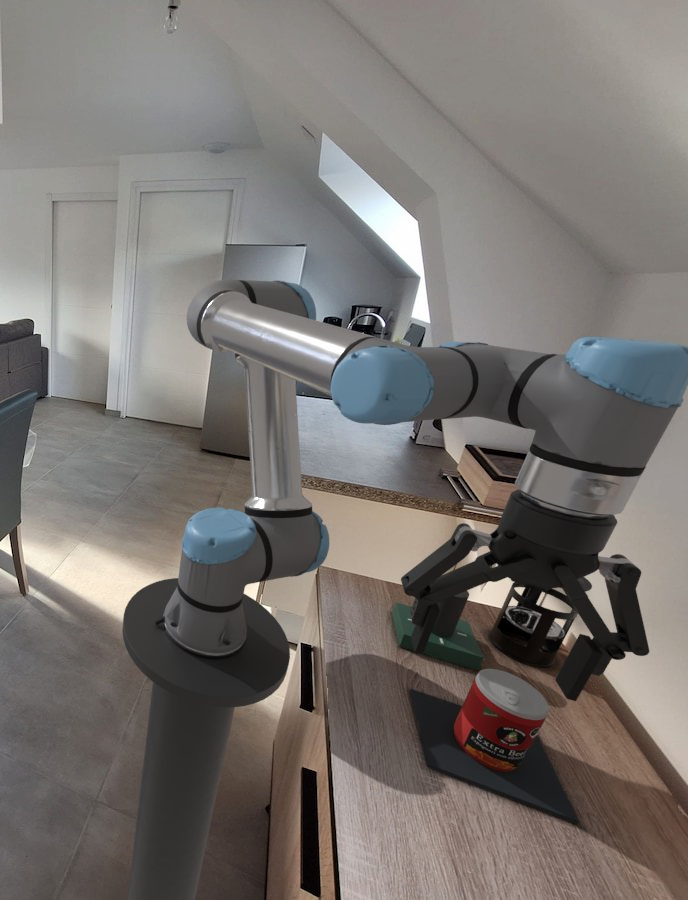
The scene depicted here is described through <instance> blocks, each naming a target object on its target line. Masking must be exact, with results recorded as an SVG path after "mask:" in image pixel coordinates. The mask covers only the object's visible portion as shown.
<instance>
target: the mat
mask: <svg viewBox="0 0 688 900" xmlns="http://www.w3.org/2000/svg"><path fill="white" fill-rule="evenodd" d="M409 693H410V697H411V701H412V702H411V703H412V705H413V710H414V714H415V719H416V724H417V727H418V731H419V736H420V741H421V744H422V748H423V753H424V757H425V763H426V766H427V768H430V769H432V770H434V771H437V772H439V773H443V774H445V775H448V776H450V777H453V778H456V779H458V780H461V781H462V782H463V781H464V782H466V783H468V784H471V785H473V786H477V787H479V788H482V789H484V790H486V791H489V792H492V793H495V794H498V795H500V796H503V797H504V798H508V799H511V800H513V801H516V802H518V803H521V804H524V805H525V806H526V805H527V806H529V807H531V808H534V809H536V810H539V811H542V812H545V813H547V814H550V815H552V816H555V817H557V818H561V819H563V820H565V821H568V822H571V823H573V824H576V825H579V823H580V819H579V817H578V815H577V814H576V811H575V810H574V807H573V805H572V804H571V801H570V798H569V797H568V795H567V793H566V791H565V789H564V787H563V785H562V783H561V781H560V779H559V777H558V775H557V772H556V771H555V769H554V767H553V764H552V763H551V761H550V758H549V757H548V755H547V753H546V750H545V749H544V747H543V744H542V742H541V740H540V738H539V736H538V734H537V735H536V737H535V739H534V740H533V742H532V744H531V746H530V748H529V749H528V751H527V753H526V755H525V756H524V758H523V760H522V762H521V763H520V765H519V766H518V767H517V768H515V769H514V770H512V771H508V772H505V771H498V770H494V769H491V768H489V767H487V766H485V765H483V764H481V763H479V762H478V761H476V760H475V759H473V758H472V757H471V756H470V755H469V754H467V753H466V752H465V751H464V750H463V749H462V747H461V746H460V745H459V743H458V742H457V740H456V738H455V735H454V724H455V721H456V719H457V717H458V715H459V712H460V710H461V708H462V706H463V705H461V704H458V703H455V702H453V701H449V700H446V699H443V698H440V697H437V696H434V695H431V694H428V693H425V692H422V691H418V690H415V689H412V688H411V689H410V690H409Z"/></svg>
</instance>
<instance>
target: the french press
mask: <svg viewBox="0 0 688 900" xmlns="http://www.w3.org/2000/svg"><path fill="white" fill-rule="evenodd" d="M578 582H579V583H580V585H581V586H582V588H583V589H584V591H585V592H586V593H587V592H590V591H591V590H592V588H593V584H592V583H591V582H590V580H588V579H587V578H586V576H585V577H582V578H580V579H578ZM515 588H523V591H522V593H521V594H520V593H519V592H518V591H517V590H516V589H515ZM559 588H560V589H562V588H561V587H559ZM542 593H543V596H542V598H541V600H540V597H541V595H542ZM548 595H549V596H552V597H554V598H556V599H558V600H559V601H561V602H563V603H564V604H566V605H567V606H568V607H569V608H571V610H570V612H563V611H558V610H553V609H550V608H547V607H544V606H543V604H544V602H545V600H546V599H547V596H548ZM512 598H513V599H514V601H516V602H517V604H516V605H510V603H511V600H512ZM539 600H540V602H539ZM538 602H539V604H537V603H538ZM578 615H579V614H578V612H577V611H576V609H575V608H574V606H573V605H572V603H571V601H570V600H569V598H568V597H567V595H566V594H565V593H563V592H561V591H559V590H557V589H556V588H551V590H547V589H543V588H540V587H537V586H535V585H533V584H522V583H517V582H513V583H512V584H511V587H510V589H509V591H508V593H507V596H506V597H505V600H504V602H503V604H502V606H501V609H500V611H499V613H498V615H497V617H496V620H495V622H494V624H493V627H492V628H491V629H490V630H489V632H488V633H487V637H488V640H489V642H490V643H491V644H492V645H493V646H494V647H495V649H497V650H498V651H499V652H501V653H502V654H504V655H505V656H507V657H509V658H511V659H512V660H515V661H517V662H518V663H521V664H524V665H527V666H531V667H535V668H541V669H546V668H551V667H552V666H553V665H554V664H555V661H556V659H555V658H556V656H557V655H558V653H559V651H560V648H561V646H562V644H563V642H564V640H565V638H566V636H567V634H568V633H569V631H570V628H571V626H573V623H574V621H575V619H576V618H577V616H578ZM557 619H558V620H563V621H564V620H565V622H564V624H563V626H561V625H560V624H559V623H557V622H556V621H555V620H557ZM508 635H512V636H516V637H519V638H521V639H523V640H526V641H527V644H526V645H524V644H521V643H519V642H517V641H516V640H514V639H513V638H511V637H510V636H508Z"/></svg>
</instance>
